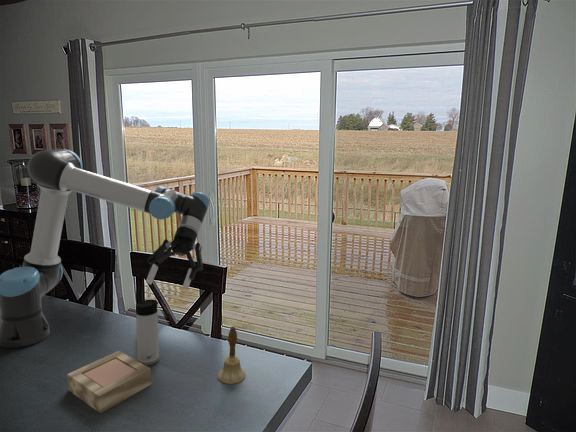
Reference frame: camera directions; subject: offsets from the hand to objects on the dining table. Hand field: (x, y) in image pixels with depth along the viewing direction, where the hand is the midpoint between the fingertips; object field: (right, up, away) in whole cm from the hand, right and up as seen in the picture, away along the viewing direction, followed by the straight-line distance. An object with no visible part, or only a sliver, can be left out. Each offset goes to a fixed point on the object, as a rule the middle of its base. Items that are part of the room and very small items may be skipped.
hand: (166, 285), depth 133 cm
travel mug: (-4, -23, -6) cm, 24 cm away
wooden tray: (-10, -25, -20) cm, 33 cm away
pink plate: (-10, -22, -20) cm, 32 cm away
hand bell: (+23, -25, -12) cm, 36 cm away
